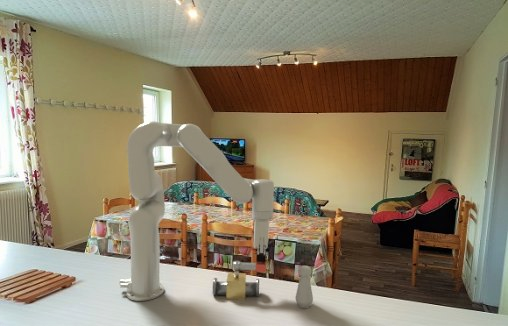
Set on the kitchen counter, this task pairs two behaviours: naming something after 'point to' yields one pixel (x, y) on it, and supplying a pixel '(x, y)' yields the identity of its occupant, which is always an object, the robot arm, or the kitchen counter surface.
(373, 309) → the kitchen counter surface
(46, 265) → the kitchen counter surface
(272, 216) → the robot arm
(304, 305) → the salt shaker
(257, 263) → the valve lever
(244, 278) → the valve pipe
